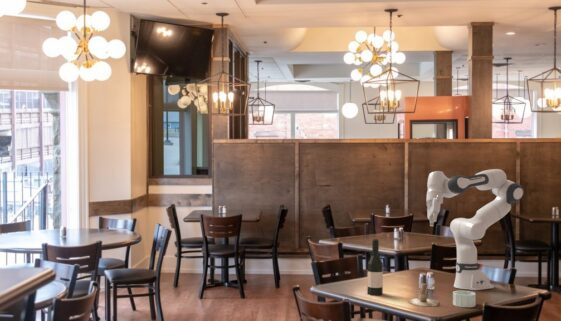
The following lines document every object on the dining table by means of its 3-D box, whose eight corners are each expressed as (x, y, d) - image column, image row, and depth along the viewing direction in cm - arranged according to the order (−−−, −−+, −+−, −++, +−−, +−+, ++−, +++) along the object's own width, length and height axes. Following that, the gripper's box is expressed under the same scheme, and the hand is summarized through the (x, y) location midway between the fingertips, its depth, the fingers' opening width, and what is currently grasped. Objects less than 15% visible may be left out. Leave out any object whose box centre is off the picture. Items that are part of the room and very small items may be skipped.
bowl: (467, 301, 351) (467, 290, 351) (479, 306, 341) (479, 294, 341) (448, 302, 348) (448, 291, 348) (460, 307, 338) (460, 295, 338)
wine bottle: (365, 292, 372) (366, 237, 371) (380, 292, 373) (381, 237, 372) (369, 295, 364) (369, 239, 363) (384, 295, 364) (384, 239, 364)
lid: (429, 299, 357) (429, 280, 357) (444, 305, 343) (444, 286, 343) (403, 301, 353) (403, 282, 353) (417, 307, 338) (417, 287, 338)
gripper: (443, 194, 361) (442, 219, 357) (437, 205, 380) (435, 228, 376) (431, 193, 362) (430, 218, 357) (426, 203, 381) (424, 227, 376)
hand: (433, 223), depth 367 cm, fingers open, 8 cm apart
